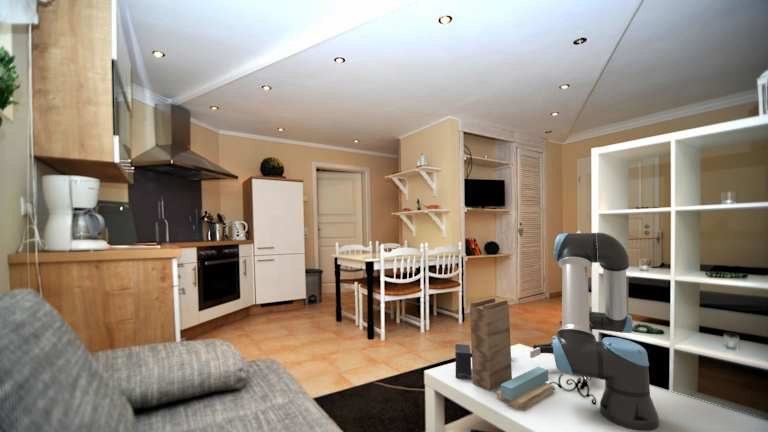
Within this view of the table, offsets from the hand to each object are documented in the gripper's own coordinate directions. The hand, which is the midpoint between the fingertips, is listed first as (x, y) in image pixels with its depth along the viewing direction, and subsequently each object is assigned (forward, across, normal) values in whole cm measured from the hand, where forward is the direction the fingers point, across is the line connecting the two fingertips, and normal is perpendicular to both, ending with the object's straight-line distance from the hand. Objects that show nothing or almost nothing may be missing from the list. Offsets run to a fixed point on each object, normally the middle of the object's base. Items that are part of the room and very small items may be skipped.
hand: (547, 359), depth 135 cm
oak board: (+17, 0, -9) cm, 19 cm away
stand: (+17, +14, -9) cm, 23 cm away
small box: (+19, +27, -9) cm, 34 cm away
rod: (+16, 0, -6) cm, 18 cm away
